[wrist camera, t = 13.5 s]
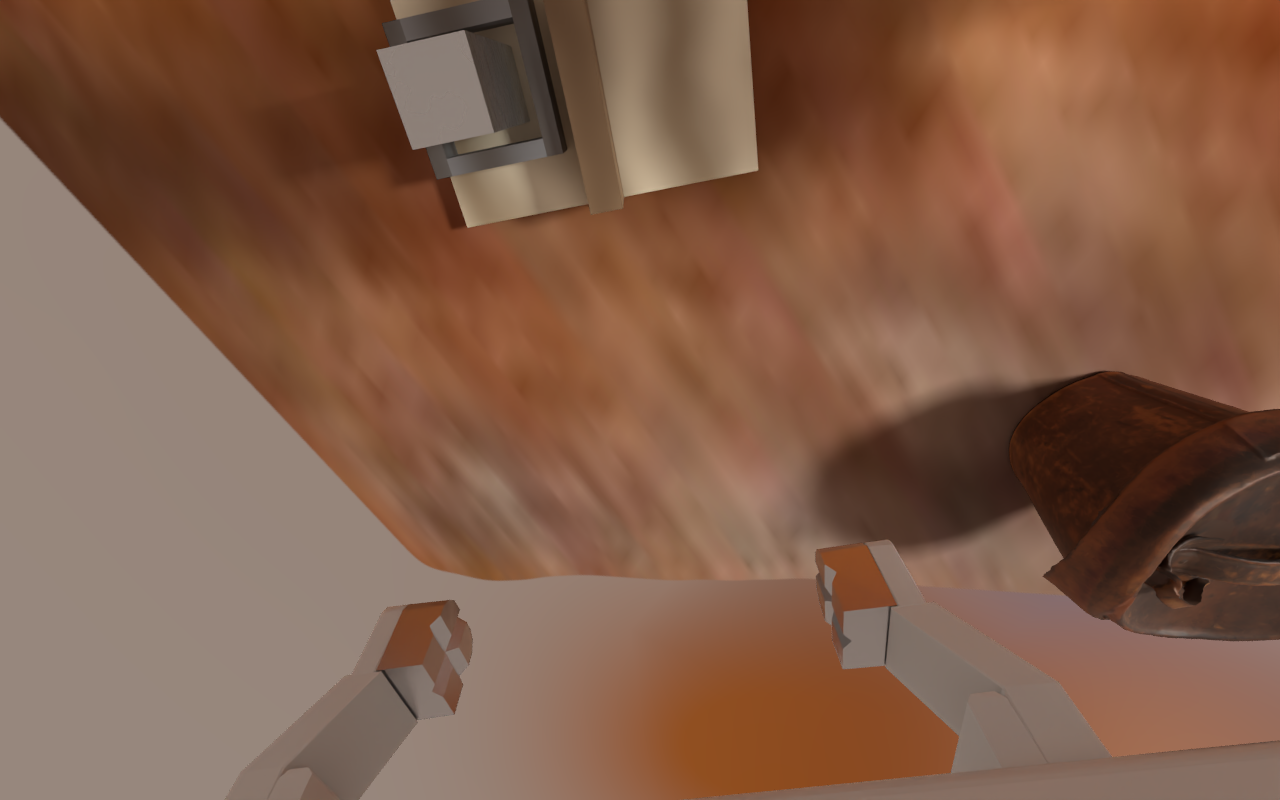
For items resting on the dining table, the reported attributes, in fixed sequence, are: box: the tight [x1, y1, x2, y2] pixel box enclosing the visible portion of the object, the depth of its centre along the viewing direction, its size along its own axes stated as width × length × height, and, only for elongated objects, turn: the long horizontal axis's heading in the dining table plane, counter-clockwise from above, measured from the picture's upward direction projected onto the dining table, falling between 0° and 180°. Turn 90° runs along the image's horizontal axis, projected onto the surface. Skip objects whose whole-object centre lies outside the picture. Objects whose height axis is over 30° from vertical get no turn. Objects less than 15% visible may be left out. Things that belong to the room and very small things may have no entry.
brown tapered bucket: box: [1009, 372, 1280, 641], centre depth 40 cm, size 18×20×18 cm
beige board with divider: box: [382, 0, 758, 228], centre depth 31 cm, size 20×15×6 cm
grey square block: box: [376, 30, 530, 150], centre depth 28 cm, size 4×4×10 cm
